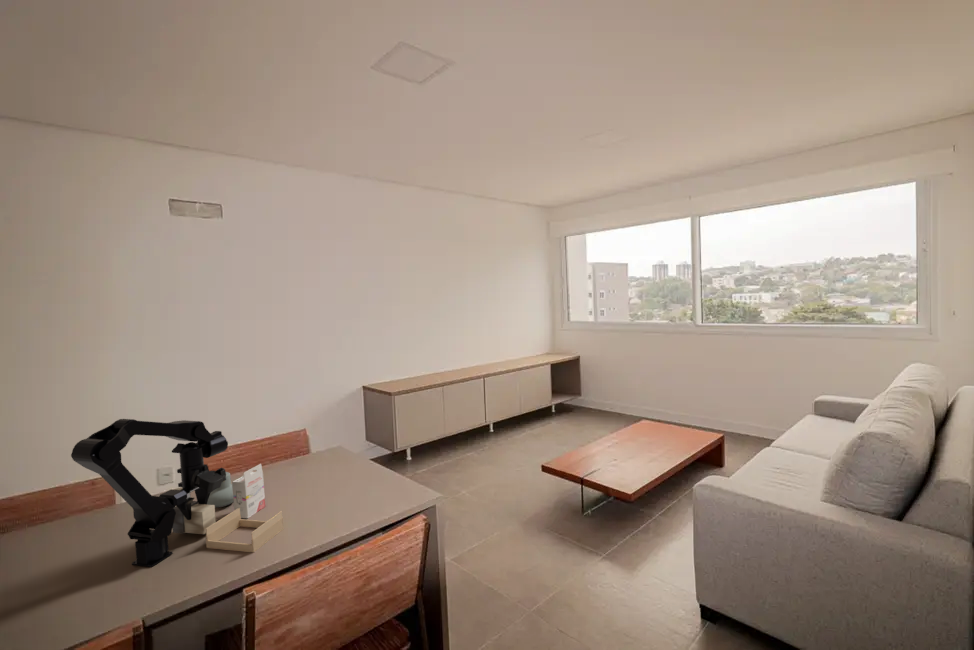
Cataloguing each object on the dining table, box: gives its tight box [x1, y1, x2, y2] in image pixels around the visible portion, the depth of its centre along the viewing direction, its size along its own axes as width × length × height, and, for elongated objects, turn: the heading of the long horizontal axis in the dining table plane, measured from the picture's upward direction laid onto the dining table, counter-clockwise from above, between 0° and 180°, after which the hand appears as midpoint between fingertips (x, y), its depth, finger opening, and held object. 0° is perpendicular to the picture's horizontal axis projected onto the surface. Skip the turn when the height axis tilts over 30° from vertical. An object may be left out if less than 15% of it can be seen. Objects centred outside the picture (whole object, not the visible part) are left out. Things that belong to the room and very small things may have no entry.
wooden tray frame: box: [205, 508, 285, 553], centre depth 132 cm, size 13×15×6 cm
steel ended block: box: [172, 500, 217, 535], centre depth 135 cm, size 10×6×7 cm, turn 78°
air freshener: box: [207, 471, 234, 509], centre depth 155 cm, size 11×8×10 cm
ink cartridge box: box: [231, 463, 266, 519], centre depth 148 cm, size 9×5×15 cm, turn 169°
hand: (195, 515), depth 135 cm, fingers closed on steel ended block, 4 cm apart
